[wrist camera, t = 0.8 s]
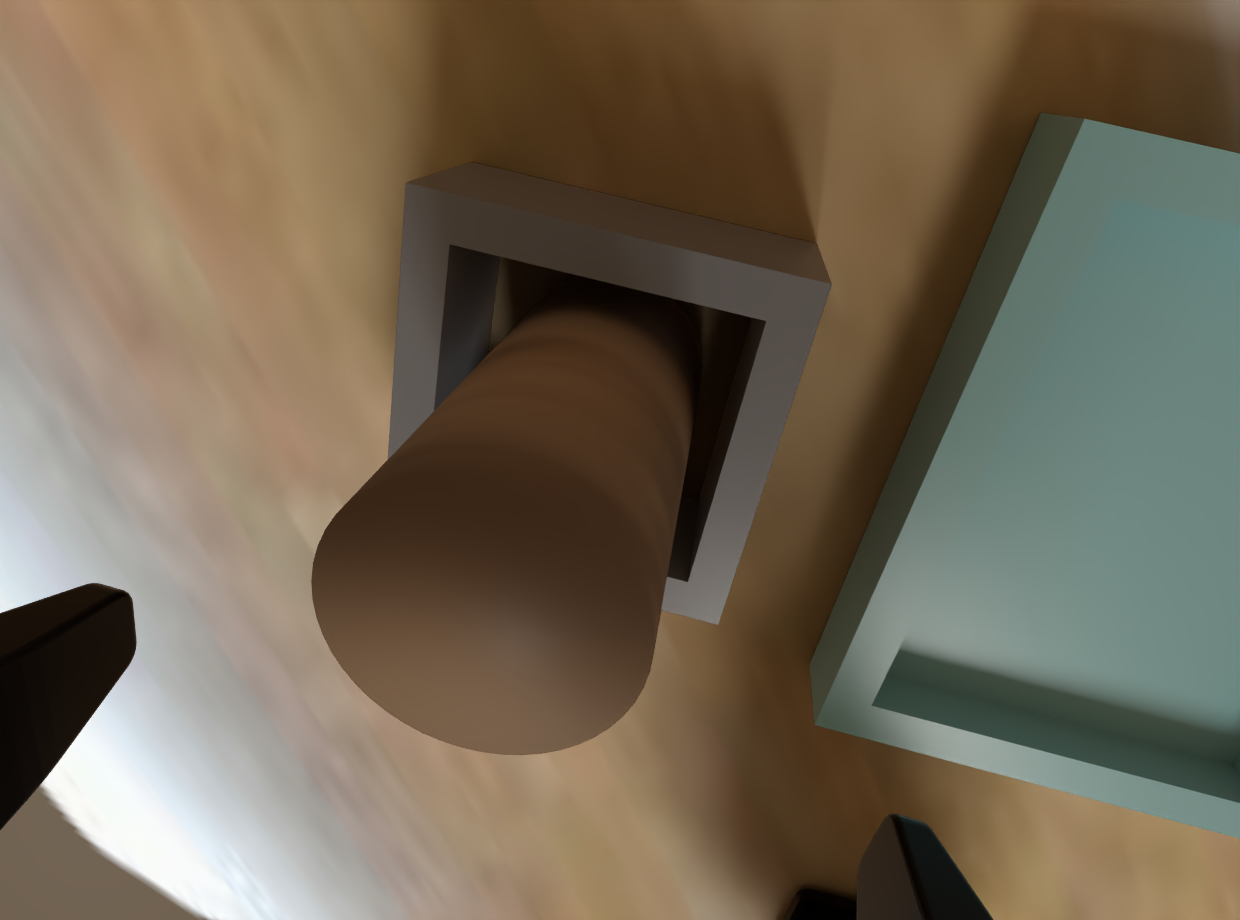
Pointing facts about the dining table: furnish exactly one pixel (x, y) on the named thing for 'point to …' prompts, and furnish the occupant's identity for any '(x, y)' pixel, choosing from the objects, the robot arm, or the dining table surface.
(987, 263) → the tray
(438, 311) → the holder
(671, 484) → the pepper mill
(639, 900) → the dining table surface
